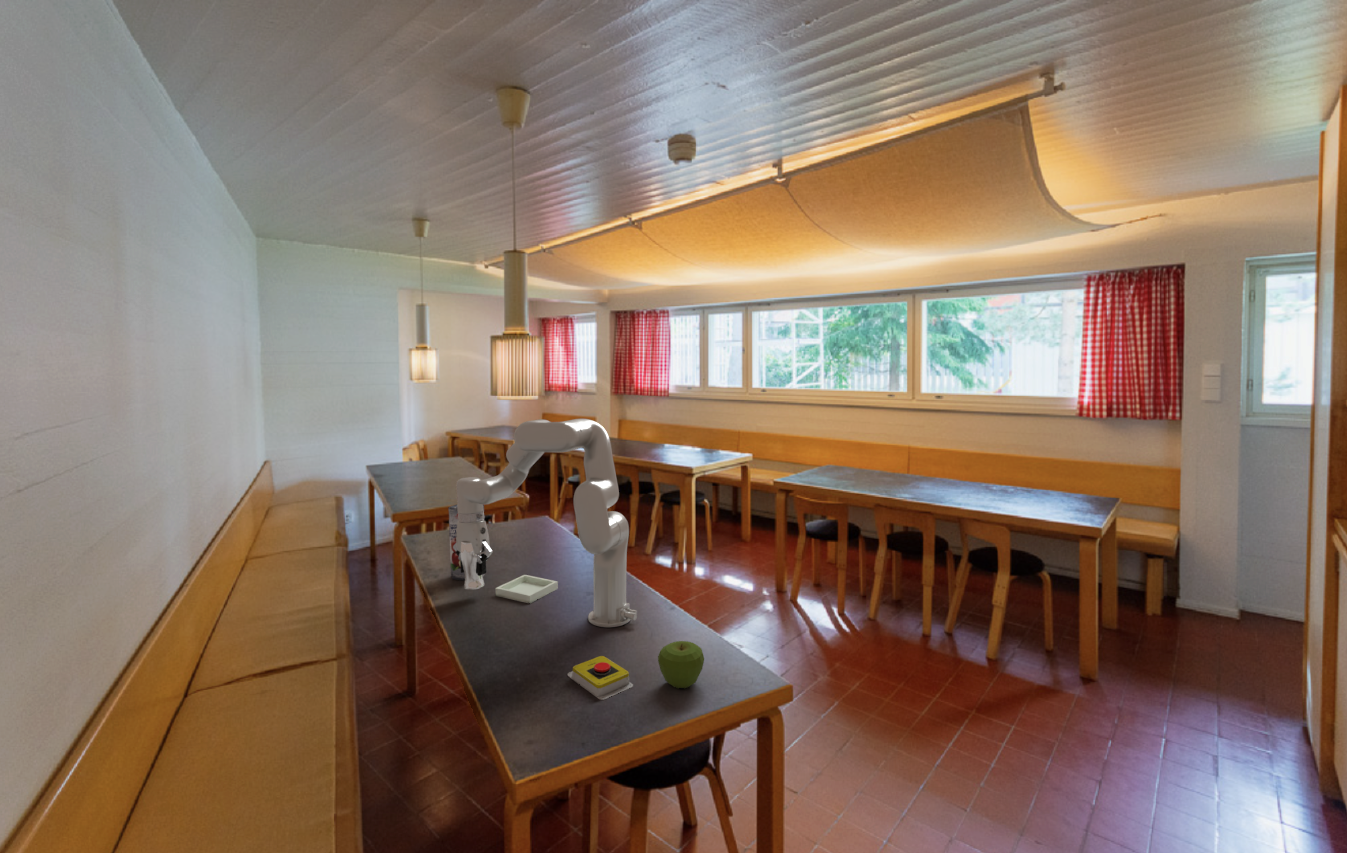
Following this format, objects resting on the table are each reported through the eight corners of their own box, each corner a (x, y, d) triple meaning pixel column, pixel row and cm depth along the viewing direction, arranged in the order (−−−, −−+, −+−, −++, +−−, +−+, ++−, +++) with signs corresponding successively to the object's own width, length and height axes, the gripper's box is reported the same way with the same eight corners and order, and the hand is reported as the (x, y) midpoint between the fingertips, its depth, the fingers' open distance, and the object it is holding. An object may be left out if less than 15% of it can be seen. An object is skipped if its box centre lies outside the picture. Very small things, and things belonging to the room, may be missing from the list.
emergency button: (601, 684, 129) (565, 658, 140) (601, 703, 129) (565, 676, 140) (635, 670, 135) (597, 647, 146) (635, 688, 135) (597, 663, 146)
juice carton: (464, 571, 210) (462, 497, 207) (488, 575, 207) (487, 500, 204) (447, 580, 202) (444, 503, 199) (472, 584, 198) (470, 505, 196)
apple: (689, 668, 143) (690, 629, 142) (712, 689, 134) (713, 647, 133) (650, 679, 138) (650, 639, 137) (670, 701, 129) (671, 658, 128)
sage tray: (557, 588, 195) (557, 581, 194) (530, 603, 182) (529, 595, 182) (524, 581, 201) (524, 574, 200) (495, 595, 188) (495, 588, 188)
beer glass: (458, 587, 185) (455, 540, 183) (477, 581, 190) (475, 535, 189) (470, 592, 180) (468, 544, 179) (490, 585, 186) (487, 539, 185)
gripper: (500, 516, 183) (503, 573, 184) (459, 512, 191) (462, 566, 192) (482, 522, 176) (485, 580, 178) (441, 517, 184) (444, 573, 185)
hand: (473, 572), depth 185 cm, fingers closed on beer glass, 6 cm apart
